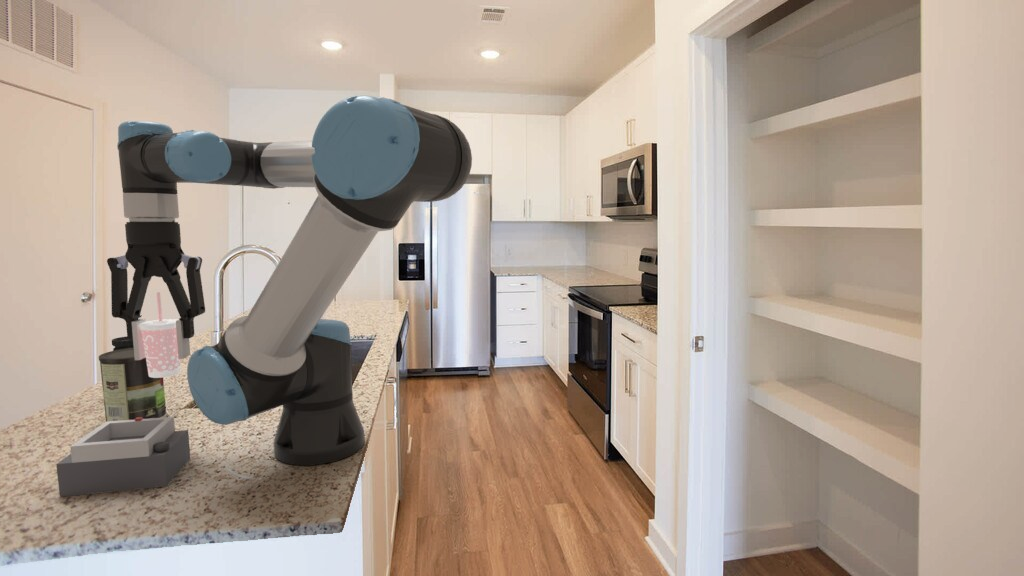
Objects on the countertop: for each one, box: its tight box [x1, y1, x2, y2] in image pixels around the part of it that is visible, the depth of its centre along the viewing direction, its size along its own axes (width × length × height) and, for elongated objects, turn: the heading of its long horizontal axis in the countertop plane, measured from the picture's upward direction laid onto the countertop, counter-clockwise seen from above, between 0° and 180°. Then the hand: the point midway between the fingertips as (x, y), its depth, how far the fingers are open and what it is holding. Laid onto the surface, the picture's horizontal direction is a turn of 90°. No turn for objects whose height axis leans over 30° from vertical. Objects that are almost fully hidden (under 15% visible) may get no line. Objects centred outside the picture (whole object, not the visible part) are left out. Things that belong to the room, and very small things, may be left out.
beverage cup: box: [139, 292, 181, 378], centre depth 91 cm, size 6×6×14 cm
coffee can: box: [98, 348, 168, 422], centre depth 108 cm, size 10×10×14 cm
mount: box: [55, 416, 191, 498], centre depth 84 cm, size 14×10×8 cm
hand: (163, 357), depth 91 cm, fingers closed on beverage cup, 6 cm apart
